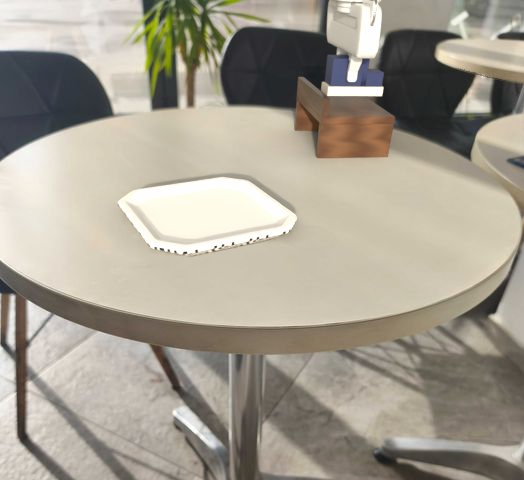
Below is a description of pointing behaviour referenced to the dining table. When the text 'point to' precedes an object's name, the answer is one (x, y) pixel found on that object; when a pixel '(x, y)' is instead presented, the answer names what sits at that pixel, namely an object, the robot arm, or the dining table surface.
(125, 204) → the plate
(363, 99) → the shoe shelf
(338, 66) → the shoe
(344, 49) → the robot arm
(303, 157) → the dining table surface
